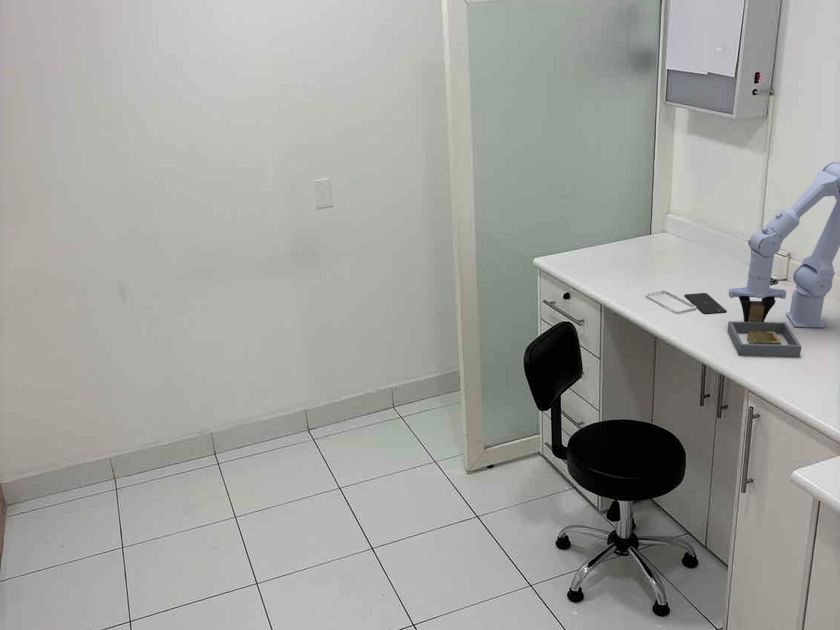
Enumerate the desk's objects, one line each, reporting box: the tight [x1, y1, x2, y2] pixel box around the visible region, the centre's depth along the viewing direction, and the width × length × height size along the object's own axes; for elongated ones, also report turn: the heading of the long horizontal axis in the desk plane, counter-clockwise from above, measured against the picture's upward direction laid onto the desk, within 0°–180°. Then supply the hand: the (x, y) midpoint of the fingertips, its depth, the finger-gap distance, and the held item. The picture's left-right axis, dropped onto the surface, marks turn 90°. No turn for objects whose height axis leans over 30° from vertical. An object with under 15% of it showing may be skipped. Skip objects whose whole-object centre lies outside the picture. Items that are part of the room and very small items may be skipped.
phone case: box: [645, 290, 697, 315], centre depth 253 cm, size 7×1×15 cm
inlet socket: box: [746, 331, 782, 345], centre depth 225 cm, size 7×7×2 cm
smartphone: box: [683, 292, 728, 315], centre depth 252 cm, size 7×1×15 cm
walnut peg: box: [748, 300, 764, 322], centre depth 235 cm, size 4×4×7 cm
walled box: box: [726, 320, 802, 358], centre depth 226 cm, size 15×15×3 cm
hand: (753, 321), depth 236 cm, fingers closed on walnut peg, 4 cm apart
